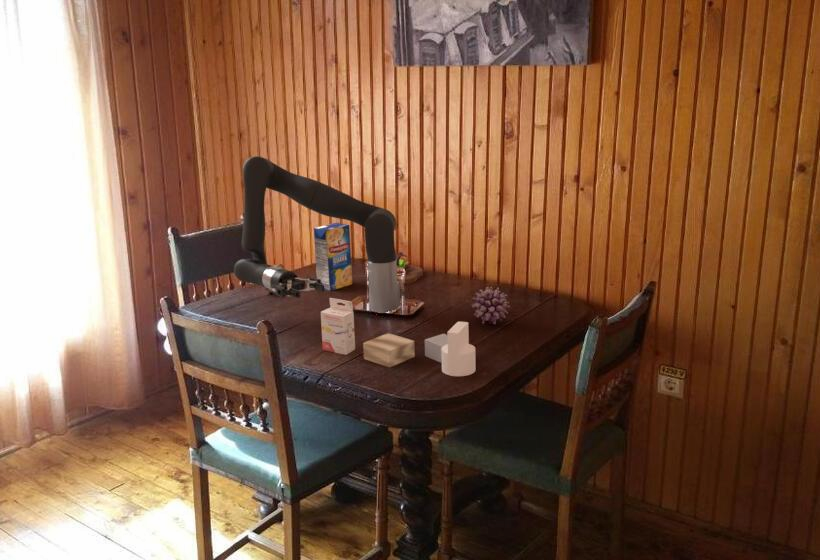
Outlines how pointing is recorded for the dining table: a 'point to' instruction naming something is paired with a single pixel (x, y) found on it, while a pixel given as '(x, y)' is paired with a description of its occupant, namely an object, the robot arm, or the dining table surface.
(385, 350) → the beech block
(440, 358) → the slate block
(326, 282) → the beverage box
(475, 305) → the purple spiky ball
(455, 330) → the base with upright slab
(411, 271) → the plant
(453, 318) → the dining table surface
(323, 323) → the ink cartridge box
